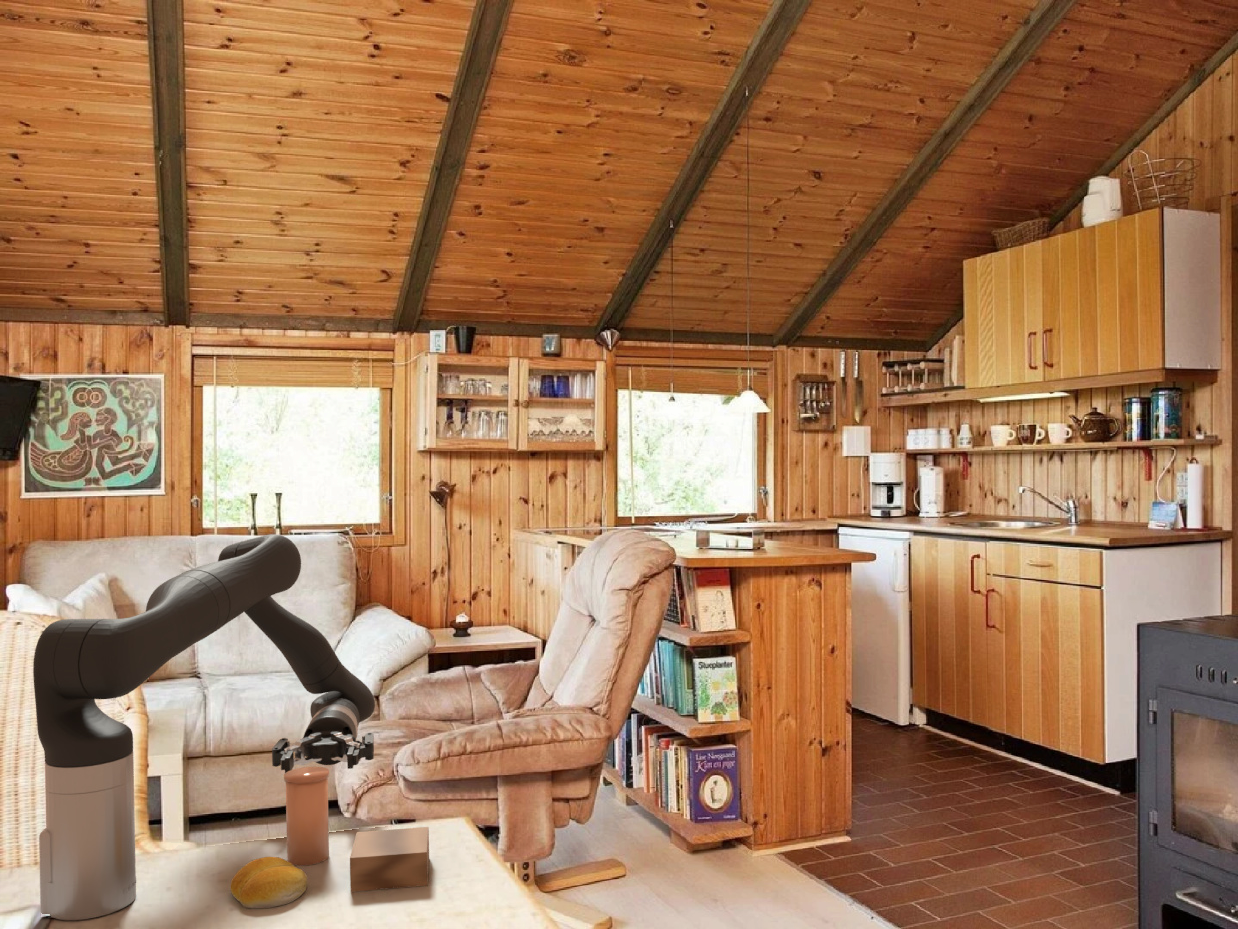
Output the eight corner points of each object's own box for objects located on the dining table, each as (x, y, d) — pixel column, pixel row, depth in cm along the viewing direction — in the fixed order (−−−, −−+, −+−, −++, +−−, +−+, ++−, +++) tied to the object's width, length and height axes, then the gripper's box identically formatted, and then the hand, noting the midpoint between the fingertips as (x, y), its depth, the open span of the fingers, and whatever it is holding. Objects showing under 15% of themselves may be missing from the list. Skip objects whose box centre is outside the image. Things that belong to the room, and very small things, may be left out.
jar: (282, 867, 132) (280, 780, 132) (289, 851, 137) (287, 768, 137) (328, 864, 133) (326, 777, 133) (333, 848, 138) (331, 765, 138)
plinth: (350, 892, 124) (349, 858, 124) (357, 863, 133) (356, 832, 133) (427, 885, 125) (426, 852, 125) (429, 858, 134) (428, 827, 134)
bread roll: (251, 918, 118) (250, 882, 118) (222, 894, 124) (221, 861, 124) (320, 897, 123) (320, 863, 123) (289, 875, 130) (288, 843, 130)
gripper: (283, 712, 161) (265, 740, 145) (377, 706, 163) (370, 734, 147) (285, 760, 161) (266, 794, 145) (379, 754, 164) (371, 786, 148)
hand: (318, 764), depth 146 cm, fingers open, 8 cm apart
